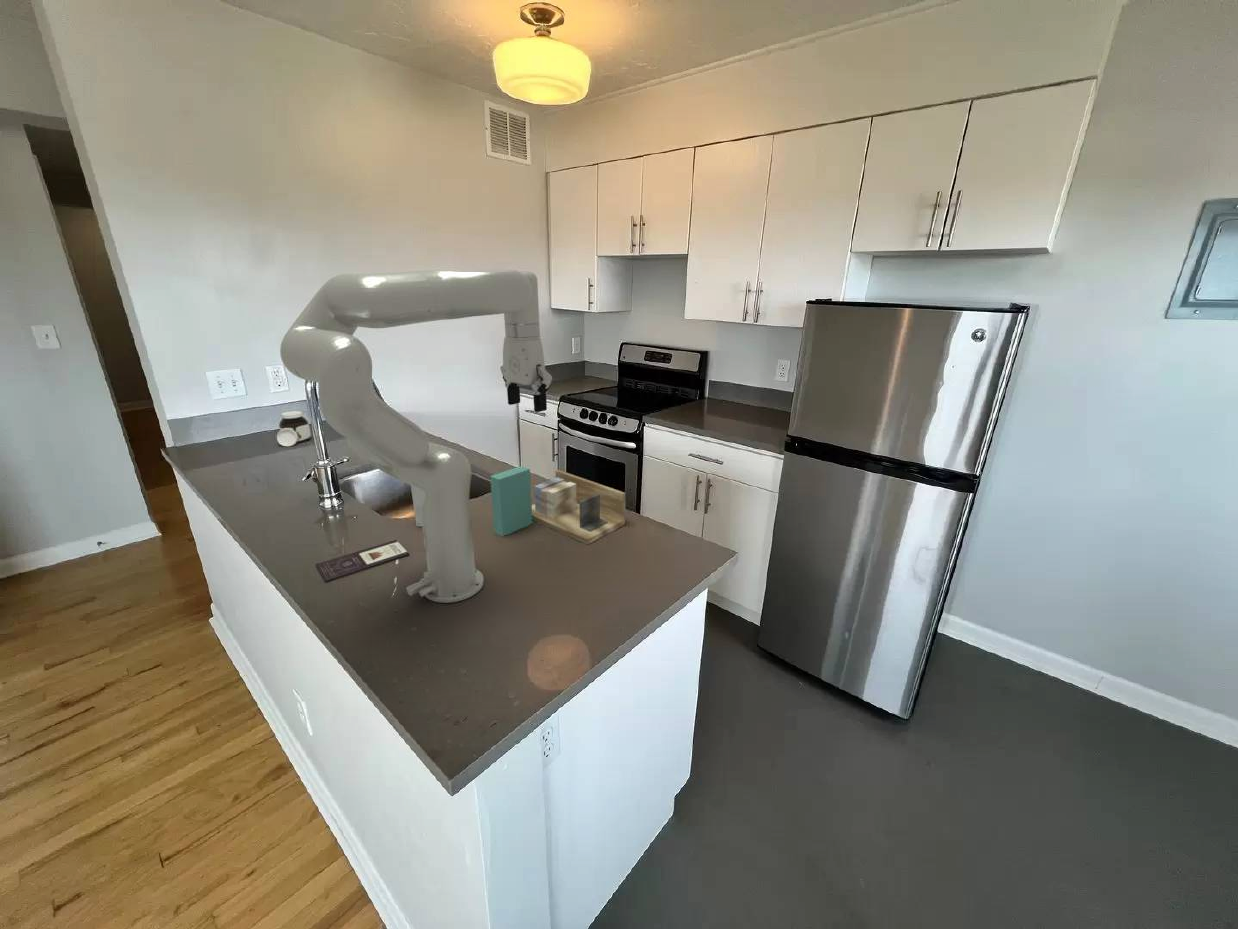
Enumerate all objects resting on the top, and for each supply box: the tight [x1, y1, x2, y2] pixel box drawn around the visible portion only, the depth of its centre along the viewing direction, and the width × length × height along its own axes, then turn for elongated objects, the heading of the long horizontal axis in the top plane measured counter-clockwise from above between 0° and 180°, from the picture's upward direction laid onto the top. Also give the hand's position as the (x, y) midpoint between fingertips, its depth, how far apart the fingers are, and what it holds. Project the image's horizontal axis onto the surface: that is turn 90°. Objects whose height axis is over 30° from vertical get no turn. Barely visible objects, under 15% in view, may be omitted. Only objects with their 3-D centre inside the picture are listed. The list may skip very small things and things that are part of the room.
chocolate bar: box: [315, 539, 410, 583], centre depth 118 cm, size 9×1×18 cm
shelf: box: [531, 469, 626, 546], centre depth 138 cm, size 15×26×10 cm, turn 50°
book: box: [490, 465, 533, 537], centre depth 132 cm, size 10×4×16 cm, turn 140°
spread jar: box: [276, 410, 312, 447], centre depth 198 cm, size 12×11×12 cm
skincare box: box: [410, 485, 425, 527], centre depth 135 cm, size 8×6×15 cm
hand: (527, 407), depth 116 cm, fingers open, 9 cm apart
